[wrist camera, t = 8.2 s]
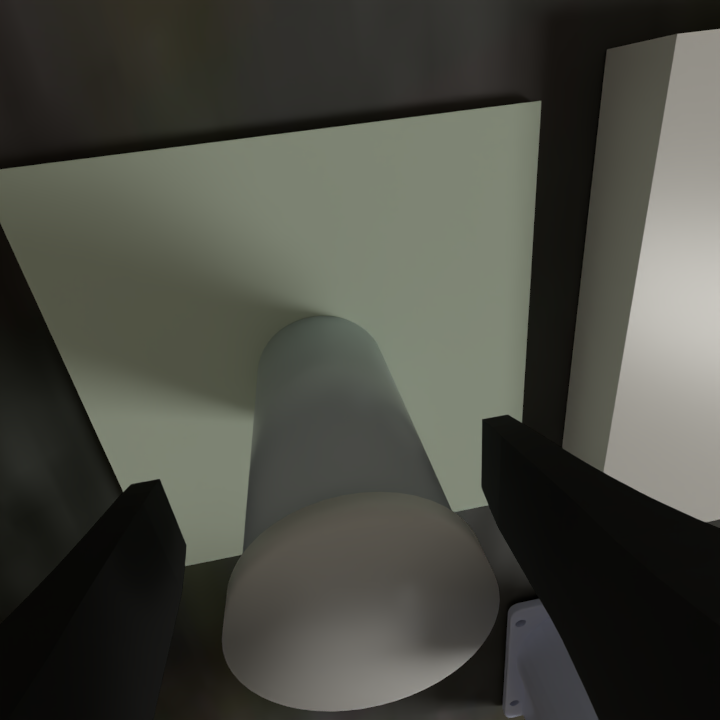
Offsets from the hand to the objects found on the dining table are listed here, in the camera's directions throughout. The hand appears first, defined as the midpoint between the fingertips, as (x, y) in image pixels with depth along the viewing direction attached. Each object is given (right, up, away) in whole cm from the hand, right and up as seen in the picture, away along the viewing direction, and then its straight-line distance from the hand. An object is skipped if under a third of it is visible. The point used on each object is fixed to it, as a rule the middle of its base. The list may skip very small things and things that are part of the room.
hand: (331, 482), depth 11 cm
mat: (-1, +2, +5) cm, 5 cm away
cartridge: (-1, +2, +4) cm, 5 cm away
